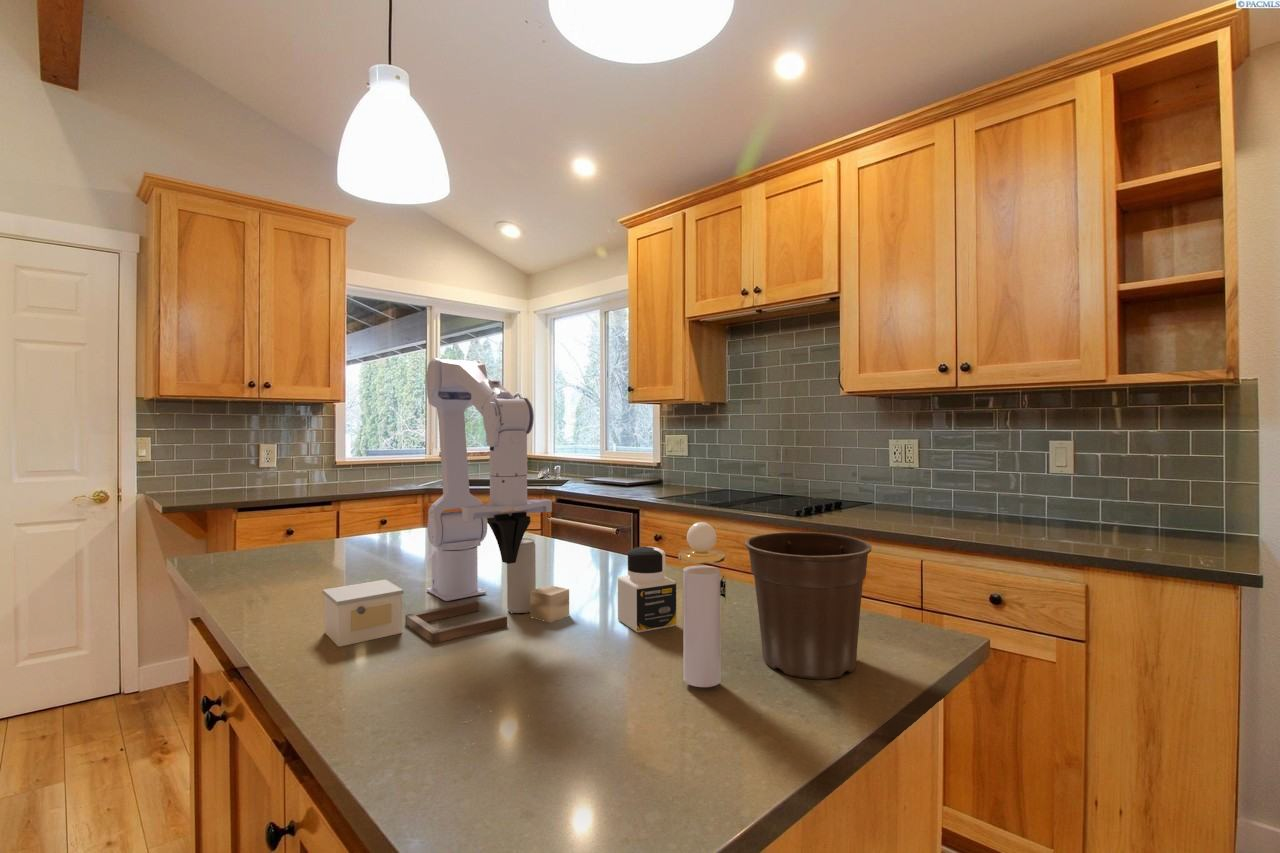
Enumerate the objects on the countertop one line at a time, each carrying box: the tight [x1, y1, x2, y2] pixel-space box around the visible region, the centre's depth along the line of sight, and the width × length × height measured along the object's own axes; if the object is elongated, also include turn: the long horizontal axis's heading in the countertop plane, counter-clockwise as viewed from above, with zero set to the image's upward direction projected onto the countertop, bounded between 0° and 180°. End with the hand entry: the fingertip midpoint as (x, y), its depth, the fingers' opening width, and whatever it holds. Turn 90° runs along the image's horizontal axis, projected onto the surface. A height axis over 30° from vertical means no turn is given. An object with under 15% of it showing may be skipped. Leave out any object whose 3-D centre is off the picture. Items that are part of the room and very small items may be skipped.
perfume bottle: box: [677, 521, 727, 688], centre depth 75 cm, size 6×6×20 cm
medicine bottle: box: [617, 546, 677, 634], centre depth 98 cm, size 7×7×12 cm
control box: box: [322, 578, 404, 648], centre depth 94 cm, size 9×9×7 cm
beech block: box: [530, 585, 570, 623], centre depth 102 cm, size 4×4×4 cm
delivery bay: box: [404, 600, 508, 645], centre depth 97 cm, size 11×12×2 cm
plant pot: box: [744, 531, 873, 680], centre depth 82 cm, size 16×16×16 cm
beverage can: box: [506, 537, 537, 614], centre depth 105 cm, size 5×5×12 cm
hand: (509, 562), depth 96 cm, fingers closed
